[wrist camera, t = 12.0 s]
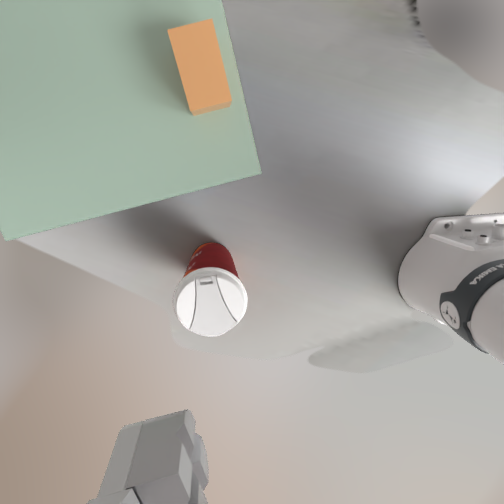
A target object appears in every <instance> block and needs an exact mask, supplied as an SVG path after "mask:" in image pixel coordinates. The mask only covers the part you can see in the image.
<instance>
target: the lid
mask: <svg viewBox="0 0 504 504" xmlns="http://www.w3.org/2000/svg"><path fill="white" fill-rule="evenodd" d="M259 174H262V172H261V168H260V164H259V159H258V155H257V151H256V146H255V142H254V138H253V133H252V129H251V125H250V121H249V116H248V112H247V108H246V103H245V99H244V95H243V90H242V86H241V82H240V77H239V73H238V69H237V64H236V60H235V56H234V51H233V47H232V43H231V38H230V34H229V30H228V26H227V21H226V17H225V13H224V8H223V4H222V0H0V231H1V233H2V235H3V237H4V239H5V241H9V240H13V239H16V238H20V237H24V236H28V235H31V234H35V233H39V232H43V231H47V230H50V229H54V228H58V227H62V226H66V225H69V224H73V223H77V222H81V221H84V220H88V219H92V218H96V217H100V216H103V215H107V214H111V213H115V212H119V211H122V210H126V209H130V208H134V207H138V206H141V205H145V204H149V203H153V202H156V201H160V200H164V199H168V198H172V197H175V196H179V195H183V194H187V193H191V192H194V191H198V190H202V189H206V188H209V187H213V186H217V185H221V184H225V183H228V182H232V181H236V180H240V179H244V178H247V177H251V176H255V175H259Z"/></svg>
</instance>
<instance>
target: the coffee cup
mask: <svg viewBox="0 0 504 504" xmlns="http://www.w3.org/2000/svg"><path fill="white" fill-rule="evenodd" d="M173 308H174V311H175V314H176V316H177V318H178V319H179V320H180V322H181V323H182V324H183V326H184V327H185V328H186V329H188V330H190V331H192V332H194V333H196V334H199V335H202V336H207V337H214V336H219V335H222V334H224V333H226V332H228V331H229V330H231V329H232V328H233V327H234V326H235V325H236V324H237V323H239V321H240V320H241V319H242V317H243V316H244V314H245V311H246V308H247V293H246V290H245V287H244V285H243V284H242V282H241V281H240V280H239V277H238V274H237V271H236V268H235V265H234V262H233V259H232V257H231V255H230V253H229V251H228V250H227V249H226V248H225V247H224V246H223V245H221V244H218V243H205V244H203V245H201V246H200V247H198V248H197V249H196V250H195V252H194V254H193V256H192V258H191V260H190V262H189V265H188V267H187V270H186V272H185V275H184V277H183V279H182V280H181V281H180V282H179V284H178V285H177V287H176V289H175V291H174V295H173Z"/></svg>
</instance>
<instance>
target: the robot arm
mask: <svg viewBox="0 0 504 504" xmlns="http://www.w3.org/2000/svg"><path fill="white" fill-rule="evenodd" d="M445 224H447V225H446V227H445V228H444V226H445ZM398 285H399V290H400V293H401V295H402V297H403V299H404V300H405V302H406V303H407V304H408V305H409V306H411V307H412V308H414V309H416V310H418V311H421V312H423V313H426V314H428V315H430V316H431V317H433V318H434V319H435V320H436V321H438V322H439V323H441V324H446V325H447V326H449V327H451V328H452V329H453V330H454V331H455V332H456V333H457V334H458V335H460V336H461V337H462V338H463V339H465V340H466V341H467V342H469V343H470V344H471V345H472V346H474V347H475V348H477V349H479V350H480V351H482V352H485V353H488V354H490V355H491V356H493V357H494V358H495V359H497V360H498V361H499V362H501V363H502V364H503V365H504V213H494V214H481V215H467V216H453V217H440V218H435V219H433V220H432V221H431V222H430V224H429V226H428V227H427V229H426V231H425V233H424V235H423V237H422V238H421V239H420V240H419V241H418V242H417V243H416V244H415V245H414V246H413V247H412V248H411V249H410V251H409V252H408V253H407V255H406V256H405V258H404V260H403V262H402V264H401V267H400V271H399V277H398ZM207 484H208V461H207V454H206V449H205V445H204V443H203V440H202V437H201V436H200V435H198V434H196V433H195V420H194V418H193V415H192V413H191V411H190V410H188V409H187V410H183V411H179V412H175V413H171V414H167V415H163V416H159V417H155V418H151V419H147V420H146V421H141V422H137V423H134V424H129V425H125V426H124V427H123V428H122V429H121V430H120V432H119V434H118V437H117V440H116V443H115V446H114V449H113V452H112V455H111V458H110V461H109V464H108V467H107V470H106V473H105V476H104V479H103V482H102V484H101V487H100V490H99V494H98V496H97V498H96V499H92V500H89V502H88V503H87V504H208V502H207V499H206V497H205V494H204V492H203V490H204V489H205V487H206V485H207Z"/></svg>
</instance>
